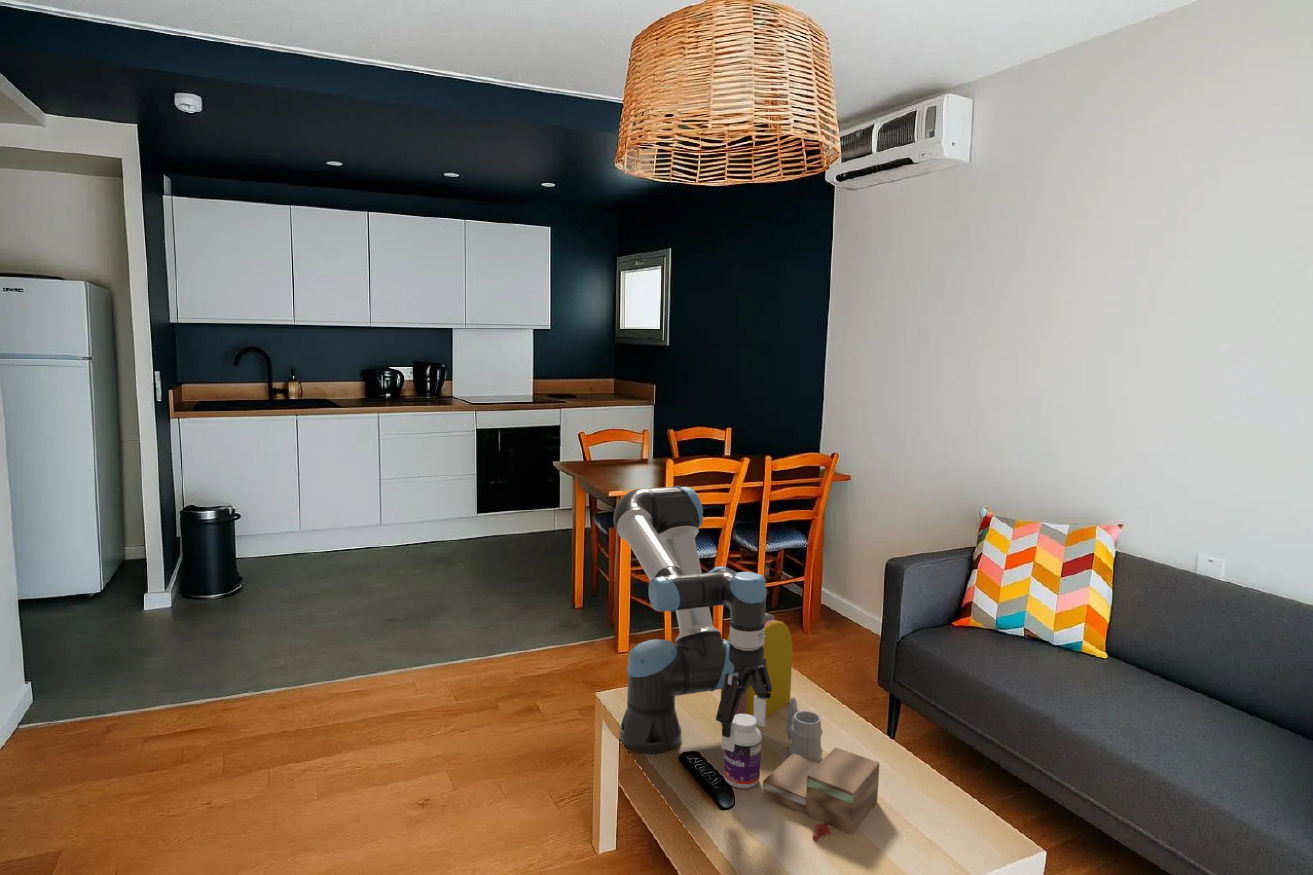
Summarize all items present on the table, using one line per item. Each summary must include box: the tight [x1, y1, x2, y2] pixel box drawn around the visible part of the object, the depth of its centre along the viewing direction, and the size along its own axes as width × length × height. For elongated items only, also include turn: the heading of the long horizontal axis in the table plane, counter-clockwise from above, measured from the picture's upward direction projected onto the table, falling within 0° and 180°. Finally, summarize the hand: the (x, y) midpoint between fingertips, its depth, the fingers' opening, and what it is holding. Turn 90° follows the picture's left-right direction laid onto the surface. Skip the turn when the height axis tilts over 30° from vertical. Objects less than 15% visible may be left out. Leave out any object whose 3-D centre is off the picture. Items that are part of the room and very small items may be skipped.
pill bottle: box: [723, 714, 763, 789], centre depth 174 cm, size 8×8×14 cm
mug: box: [784, 696, 824, 763], centre depth 186 cm, size 8×12×12 cm, turn 26°
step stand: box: [762, 746, 880, 842], centre depth 165 cm, size 20×20×9 cm
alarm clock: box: [720, 612, 793, 720], centre depth 206 cm, size 21×9×26 cm, turn 140°
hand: (744, 736), depth 173 cm, fingers open, 13 cm apart
